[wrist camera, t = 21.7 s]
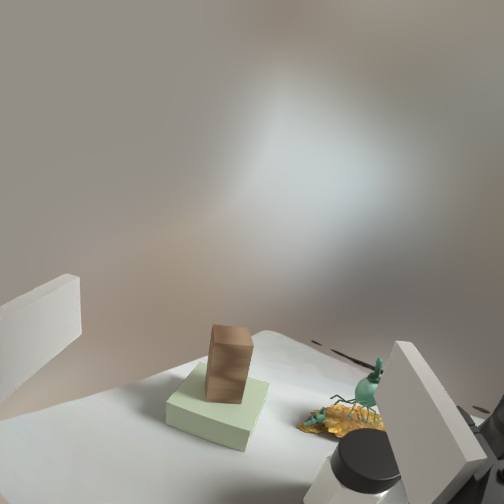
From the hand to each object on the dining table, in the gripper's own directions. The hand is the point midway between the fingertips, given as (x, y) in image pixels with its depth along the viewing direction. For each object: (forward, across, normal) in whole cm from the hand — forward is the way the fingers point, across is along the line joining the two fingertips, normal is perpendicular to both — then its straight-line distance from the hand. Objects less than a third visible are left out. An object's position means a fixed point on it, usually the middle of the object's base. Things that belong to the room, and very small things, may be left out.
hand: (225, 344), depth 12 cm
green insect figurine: (+28, +19, -29) cm, 45 cm away
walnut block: (+26, -2, -24) cm, 36 cm away
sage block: (+26, -2, -29) cm, 39 cm away
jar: (+11, +15, -29) cm, 34 cm away
